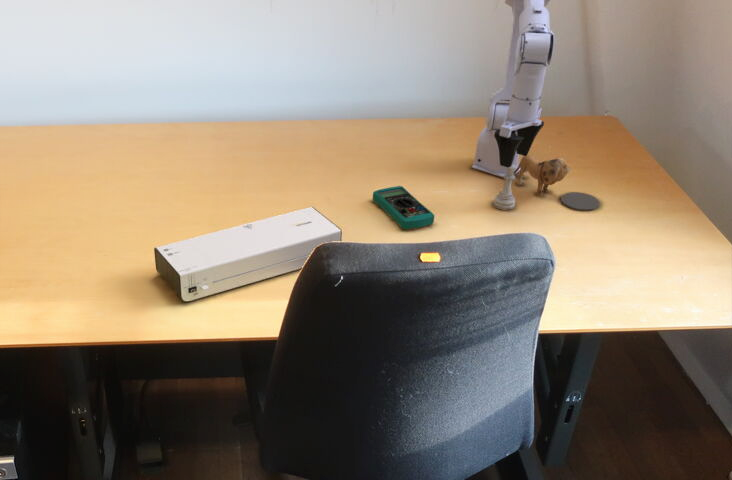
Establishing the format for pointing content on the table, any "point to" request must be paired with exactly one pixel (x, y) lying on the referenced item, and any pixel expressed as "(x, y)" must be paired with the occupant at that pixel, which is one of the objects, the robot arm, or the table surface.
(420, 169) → the table surface
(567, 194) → the coaster
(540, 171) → the lion figurine
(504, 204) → the chess piece
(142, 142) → the table surface
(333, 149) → the table surface
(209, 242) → the laminator
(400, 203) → the digital multimeter
